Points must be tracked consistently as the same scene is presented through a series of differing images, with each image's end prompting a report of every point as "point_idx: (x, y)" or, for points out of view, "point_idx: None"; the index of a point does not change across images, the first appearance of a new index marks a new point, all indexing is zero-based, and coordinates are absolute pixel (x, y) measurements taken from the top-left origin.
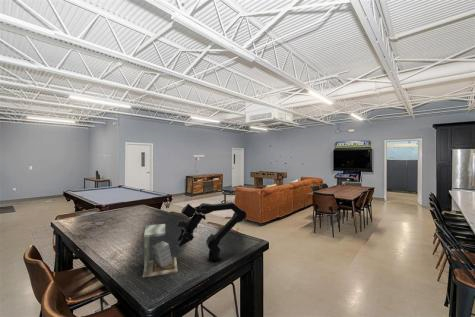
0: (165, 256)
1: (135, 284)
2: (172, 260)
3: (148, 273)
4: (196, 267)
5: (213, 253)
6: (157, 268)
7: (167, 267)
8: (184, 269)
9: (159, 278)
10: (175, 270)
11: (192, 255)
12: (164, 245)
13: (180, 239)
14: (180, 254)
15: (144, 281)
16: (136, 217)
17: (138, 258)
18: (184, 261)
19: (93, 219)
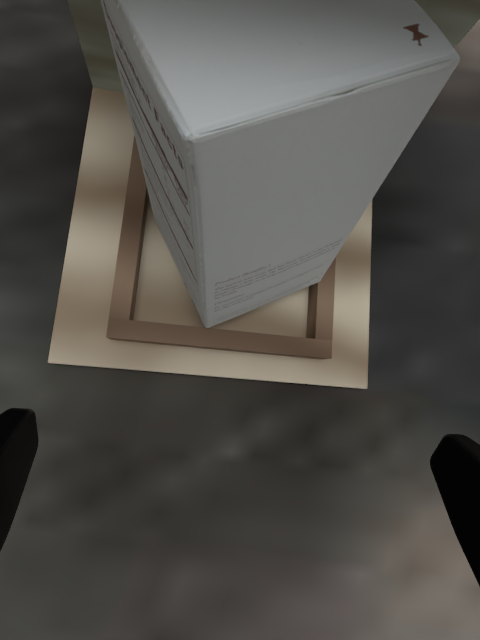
0: (164, 203)
1: (7, 4)
2: (259, 334)
3: (125, 103)
4: (67, 586)
5: None
6: (134, 165)
7: (116, 262)
8: (83, 442)
9: (13, 187)
10: (67, 343)
11: (376, 575)
12: (171, 49)
13: (461, 518)
14: (437, 444)
15: (23, 69)
16: None
17: (461, 84)
18: (265, 466)
19: None
